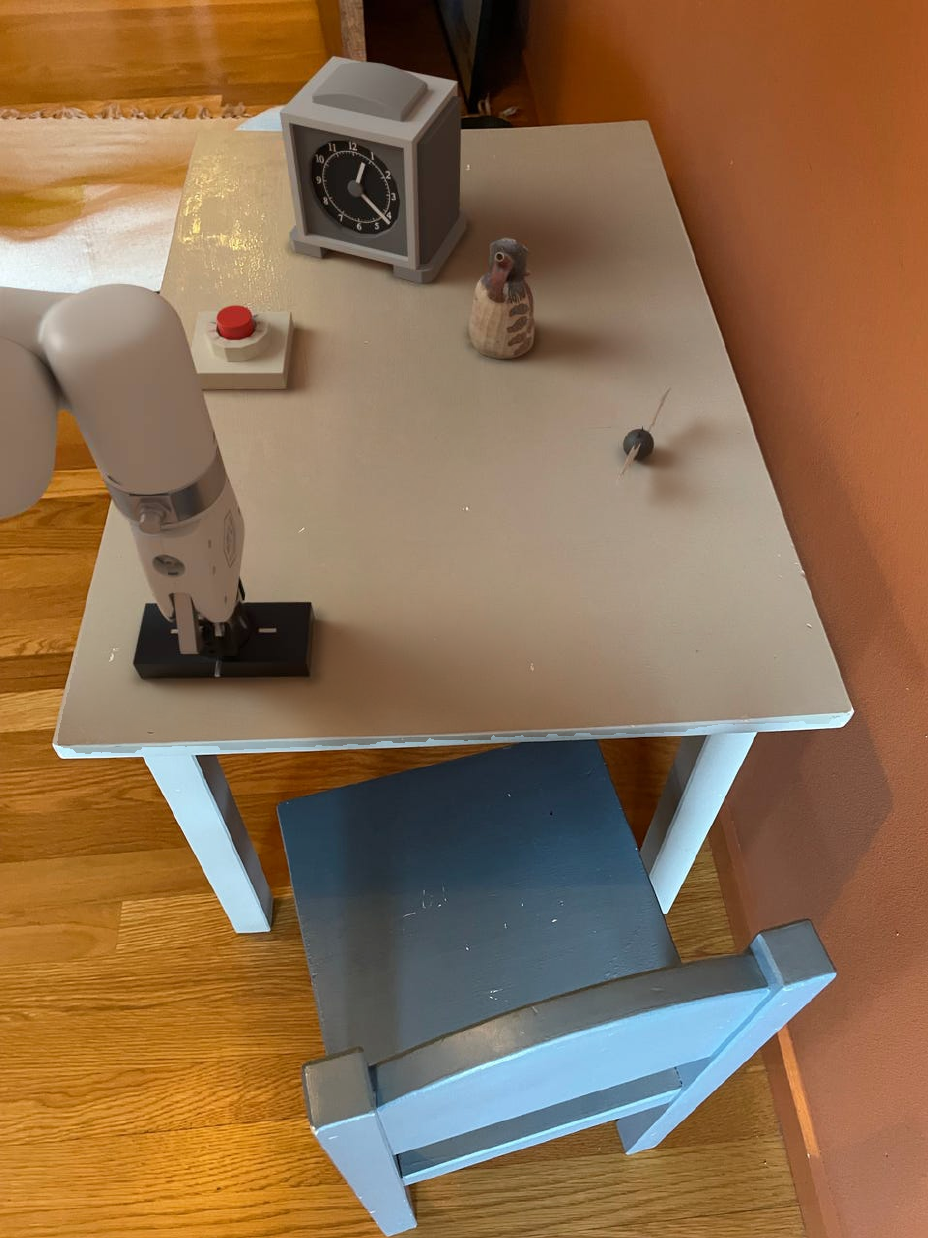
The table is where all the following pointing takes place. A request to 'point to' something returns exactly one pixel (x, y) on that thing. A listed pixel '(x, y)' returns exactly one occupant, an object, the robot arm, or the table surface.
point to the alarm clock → (376, 166)
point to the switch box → (244, 352)
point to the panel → (267, 652)
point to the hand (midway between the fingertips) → (222, 624)
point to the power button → (235, 322)
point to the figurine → (503, 304)
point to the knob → (238, 621)
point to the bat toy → (640, 441)
